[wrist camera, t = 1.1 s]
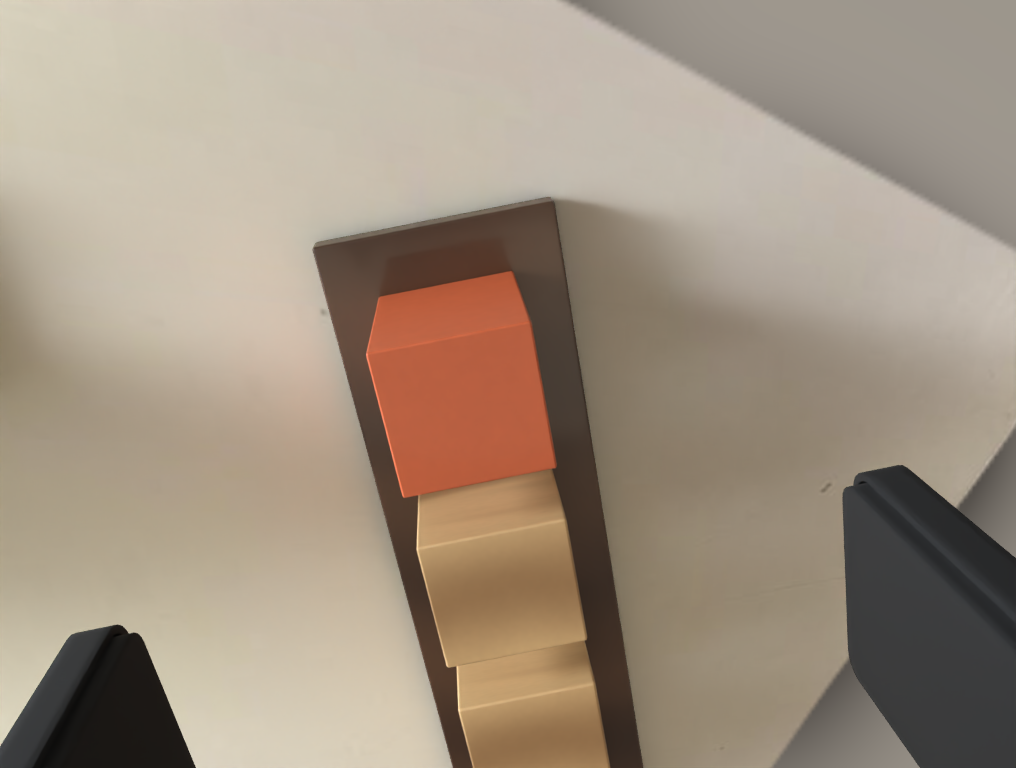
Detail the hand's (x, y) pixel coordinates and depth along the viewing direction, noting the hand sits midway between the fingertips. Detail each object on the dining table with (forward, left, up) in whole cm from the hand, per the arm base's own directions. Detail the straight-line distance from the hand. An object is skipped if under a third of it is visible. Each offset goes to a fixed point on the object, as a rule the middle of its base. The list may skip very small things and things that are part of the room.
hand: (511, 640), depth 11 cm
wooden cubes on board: (+9, 0, -16) cm, 18 cm away
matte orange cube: (+1, 0, -15) cm, 15 cm away
